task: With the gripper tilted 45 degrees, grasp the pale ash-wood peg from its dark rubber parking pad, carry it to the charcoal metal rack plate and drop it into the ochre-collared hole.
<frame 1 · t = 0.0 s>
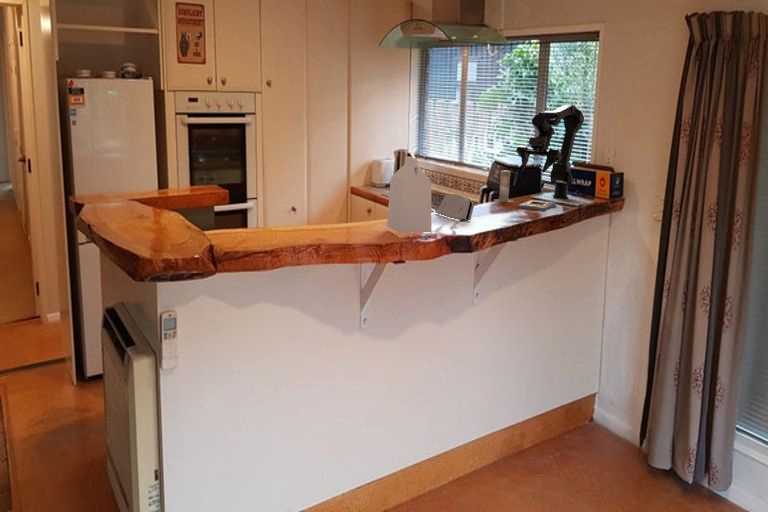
hand: (532, 171, 287), 15 cm above the counter, tool tilted 35°, fingers open, 9 cm apart
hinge: (455, 218, 264), on the counter
peg: (503, 200, 300), resting on parking pad
milk: (408, 234, 235), on the counter
rack plate: (537, 207, 289), on the counter
parking pad: (503, 201, 301), on the counter
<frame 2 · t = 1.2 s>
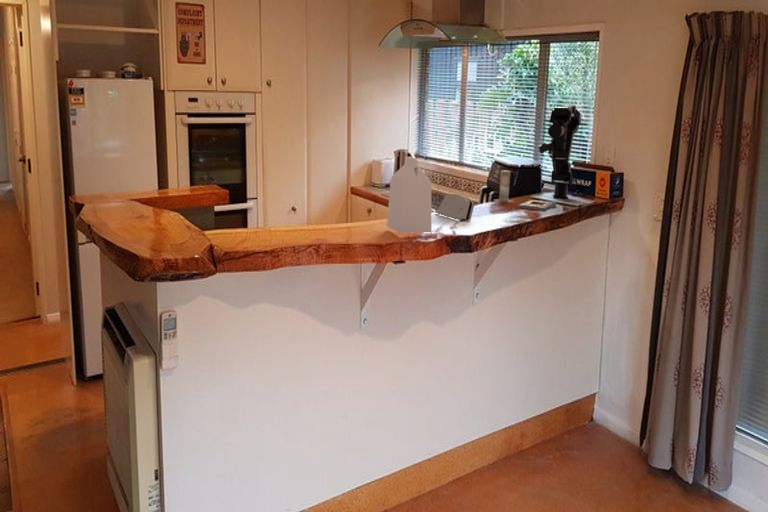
hand: (555, 172, 299), 13 cm above the counter, tool pointing down, fingers open, 9 cm apart
nothing on the counter moved.
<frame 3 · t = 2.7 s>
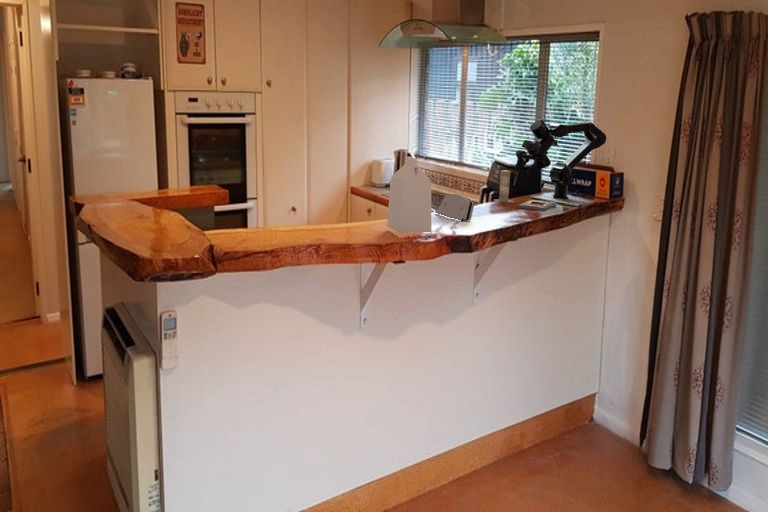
hand: (521, 172, 301), 12 cm above the counter, tool tilted 45°, fingers open, 9 cm apart
nothing on the counter moved.
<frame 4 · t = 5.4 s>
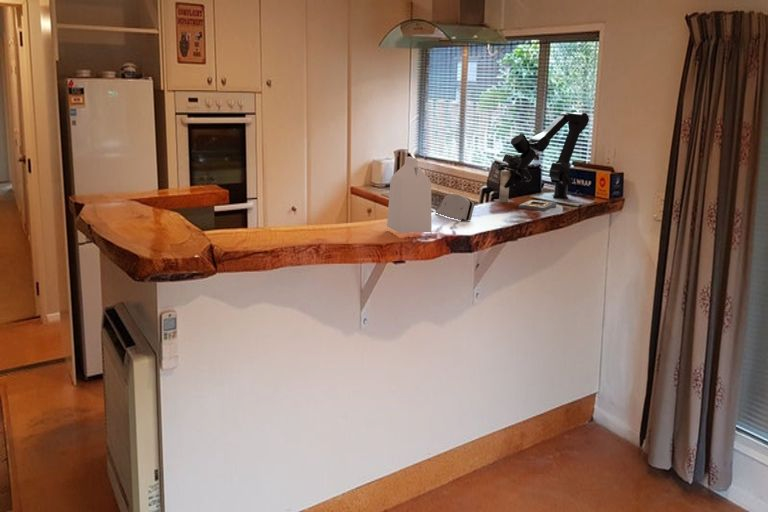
hand: (501, 186, 298), 7 cm above the counter, tool tilted 45°, fingers closed on peg, 4 cm apart
peg: (503, 200, 300), resting on parking pad, touching gripper
everything else where it was.
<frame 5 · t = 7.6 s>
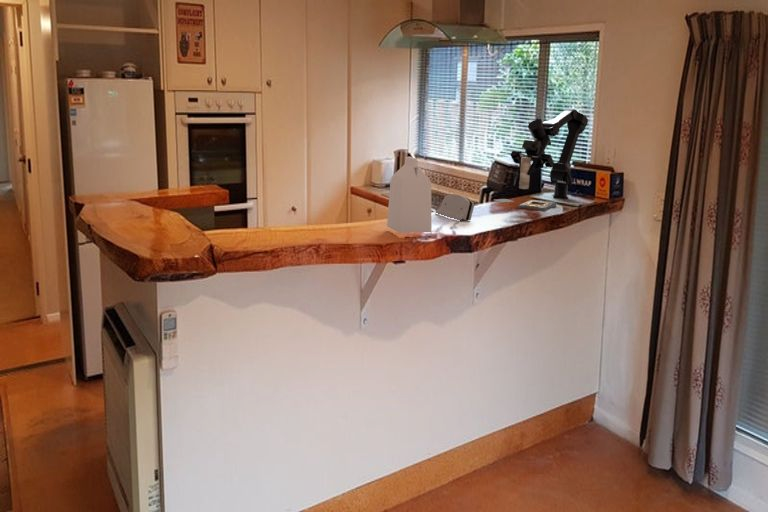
hand: (523, 174, 288), 13 cm above the counter, tool tilted 45°, fingers closed on peg, 4 cm apart
peg: (523, 188, 291), point 7 cm above the counter, touching gripper
everything else where it was.
when the fingers open (7 cm above the counter, at t = 10.0 s): peg stays where it is, resting in rack plate.
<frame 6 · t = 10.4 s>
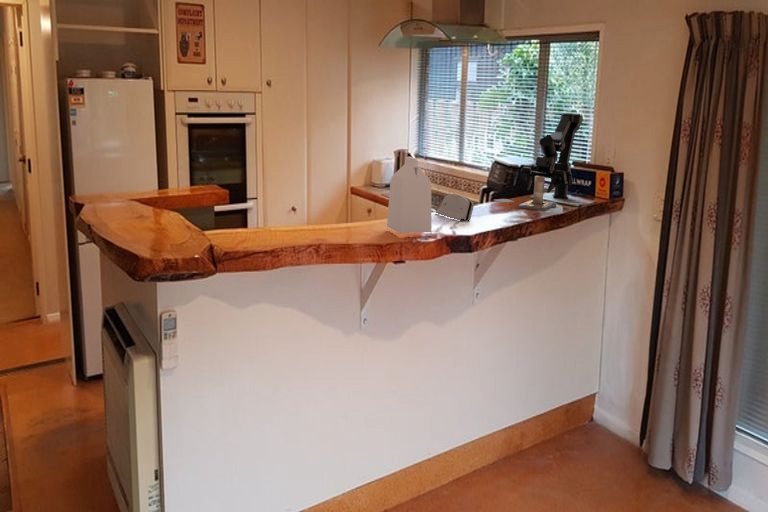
hand: (537, 191, 286), 7 cm above the counter, tool tilted 45°, fingers open, 8 cm apart
peg: (537, 207, 289), resting in rack plate
everything else where it was.
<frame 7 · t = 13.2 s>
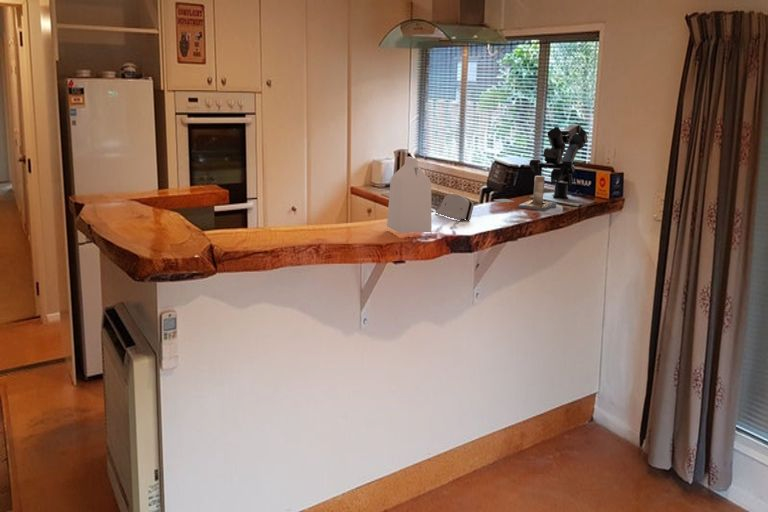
hand: (546, 182, 294), 10 cm above the counter, tool tilted 45°, fingers open, 9 cm apart
nothing on the counter moved.
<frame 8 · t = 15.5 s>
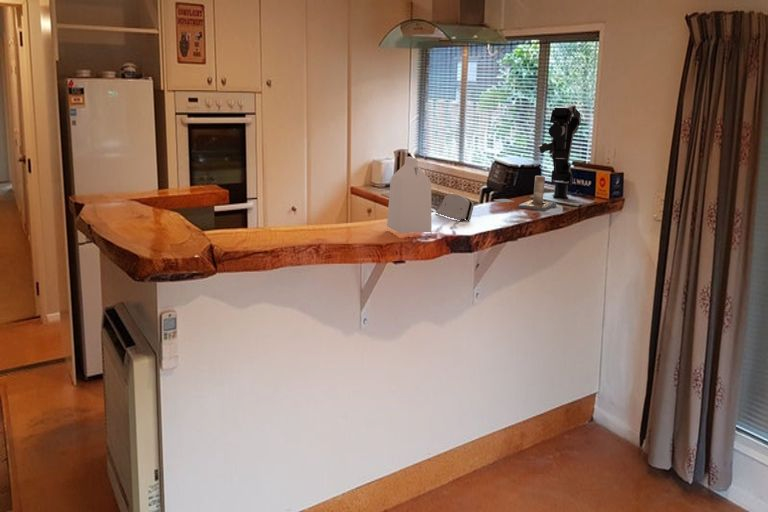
hand: (556, 172, 299), 13 cm above the counter, tool pointing down, fingers open, 9 cm apart
nothing on the counter moved.
at the end: peg 0.0 cm from the target spot, resting in rack plate; peg tilted 0°; the gripper is holding nothing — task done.
